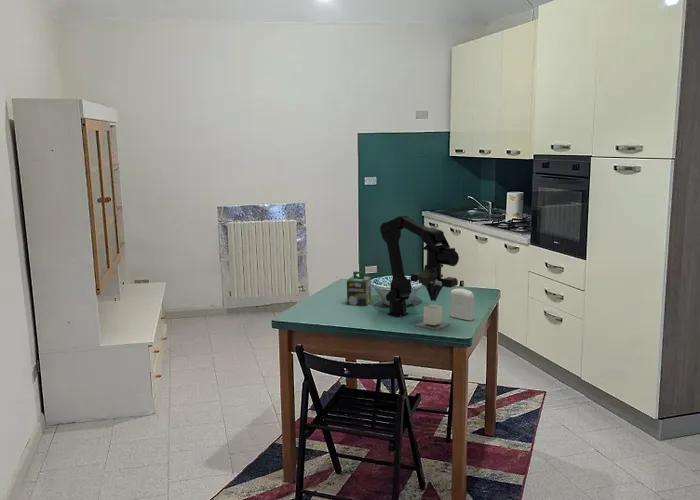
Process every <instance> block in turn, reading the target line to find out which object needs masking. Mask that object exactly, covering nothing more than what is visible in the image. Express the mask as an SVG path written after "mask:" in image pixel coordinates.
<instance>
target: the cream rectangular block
mask: <svg viewBox="0 0 700 500" xmlns="http://www.w3.org/2000/svg"><path fill="white" fill-rule="evenodd" d="M423 321H424V323H426V324H430V325H437V324H439V323H442V322H443V306H441V305H436V304H431V303H430V304H428V305H426V306H424V307H423Z"/></svg>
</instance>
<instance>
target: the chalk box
mask: <svg viewBox="0 0 700 500" xmlns="http://www.w3.org/2000/svg"><path fill="white" fill-rule="evenodd" d="M357 275H360V276H357ZM371 277H372V276H365V275H364V272H363V271H353V276H351V277H349V278H348V279H347V280H346V304H347V306H359V307H367V306H368V305H369V303H371V301H372V292H371V291H372V284H371V283H372V278H371Z"/></svg>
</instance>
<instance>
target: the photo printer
mask: <svg viewBox="0 0 700 500" xmlns="http://www.w3.org/2000/svg"><path fill="white" fill-rule="evenodd" d="M449 303H450V304H449V305H450V307H449V308H450V309H449V310H450V312H449V313H450V314H449V315H450V317H452V318H456V319H461V320H465V321H473V320H474V319H475V293H474V292H472V291H470V290H468V289H466V288H454V289H451V292H450V302H449Z"/></svg>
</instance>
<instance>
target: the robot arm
mask: <svg viewBox="0 0 700 500" xmlns="http://www.w3.org/2000/svg"><path fill="white" fill-rule="evenodd" d="M403 229H405V230H408V231H409V232H411V233H412V234H415V235H416V236H418V237H420V238H421V241H422V242H423V243H425V246H423V248H422V250H423V251H426V264H424V266H423V267H424V268H423V270H422V271H421V272H419V271H418V272H417V271H416V272H414V273H412V274H411V275H410V278H409V279H408V278H407V277H406V276H405V272H404V264H403V259H402V254H401V248H400V243H399V241H400V238H401V237H402V230H403ZM379 231H380V235H381V238H382V240H383V241H384V242H385V243H386V246H387V252H388V257H389V264H390V269H391V275H392V279H391V282H390V285H389V286H390V290H389V292H387V294H386V295H385V299H386V301H387V302H389V305H388V306H389V308H388V309H389V311H388V312H387V315H389V316H395V317H398V318H399V317H403V316H404V315H408V312H407V304H406V303H407V302H406V301H407V300H409V299H410V296H411V293H412V289H413V287H412V282H413V283H416V282H418V283H419V284H421V286H423V287H425V289H426V290H427V292H428V295H429V299H430V301H431V302H432V301H433V302H436V301H437V298H438V297H439V295H440V292H441V290H442V289H443V288H444V287H445V288H454V287H456V286H458V284H459V282H458V281H459V280H458V279H457V277H451V276H448V277H445V278H443V277H444V274H442V268H444V265H446V266H451V267H455V266H457V265H458V263H459V260H460V256H459V253H458V252H457V251H456V248H455V247H451V246H450V244H449V241H448V240H447V238H446V236H445V232H444V231H443V230H442V229H438V228H435V227H434V228H433V227H429V226H425V225H424V224H422V223H421V222H418V221H417V220H414V219H413V218H411V217H410V216H408V215H399V216H397V217H395V218H393V219H391V220H389V221H387V222H383V223H381V226H380V227H379Z"/></svg>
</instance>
